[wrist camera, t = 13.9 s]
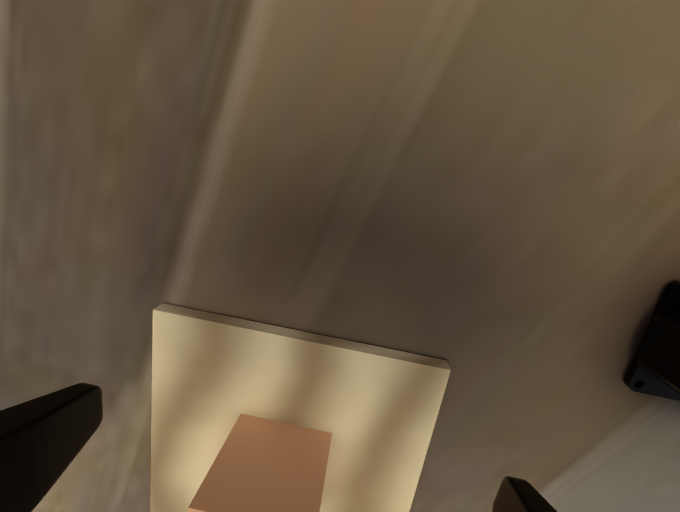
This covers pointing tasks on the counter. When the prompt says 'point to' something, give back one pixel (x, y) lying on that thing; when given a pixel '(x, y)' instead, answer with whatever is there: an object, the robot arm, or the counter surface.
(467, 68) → the counter surface
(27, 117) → the counter surface
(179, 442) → the post base
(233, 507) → the tan cardboard-like cube
